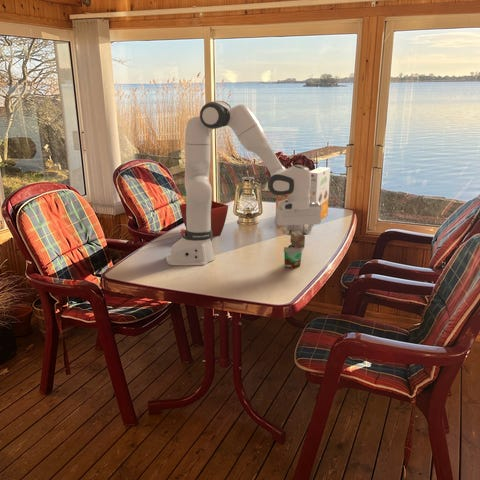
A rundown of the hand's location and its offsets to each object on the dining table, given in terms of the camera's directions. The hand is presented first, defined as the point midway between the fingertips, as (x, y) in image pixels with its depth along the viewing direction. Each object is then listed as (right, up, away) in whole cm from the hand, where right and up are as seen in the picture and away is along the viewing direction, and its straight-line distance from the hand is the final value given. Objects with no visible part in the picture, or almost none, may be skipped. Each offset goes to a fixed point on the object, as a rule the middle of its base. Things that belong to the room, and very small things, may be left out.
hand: (297, 234), depth 208 cm
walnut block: (0, -5, +2) cm, 5 cm away
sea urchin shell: (+8, +2, +56) cm, 57 cm away
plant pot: (-44, 0, +48) cm, 66 cm away
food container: (0, -14, +5) cm, 15 cm away
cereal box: (+22, +10, +82) cm, 85 cm away
